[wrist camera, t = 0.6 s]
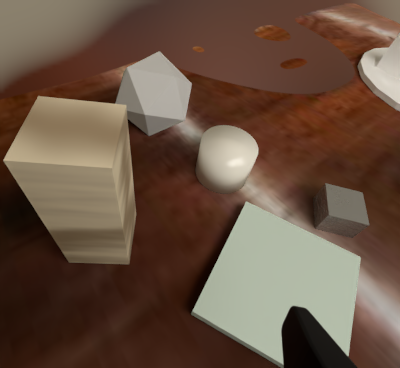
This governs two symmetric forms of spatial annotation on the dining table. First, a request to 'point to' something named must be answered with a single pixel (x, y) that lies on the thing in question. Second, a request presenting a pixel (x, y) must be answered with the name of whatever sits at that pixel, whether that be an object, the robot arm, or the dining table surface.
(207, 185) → the cream marshmallow cylinder
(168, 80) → the die
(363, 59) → the dish
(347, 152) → the dining table surface
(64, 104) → the maple block
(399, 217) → the dining table surface
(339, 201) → the grey block
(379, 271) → the dining table surface
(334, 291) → the tile
